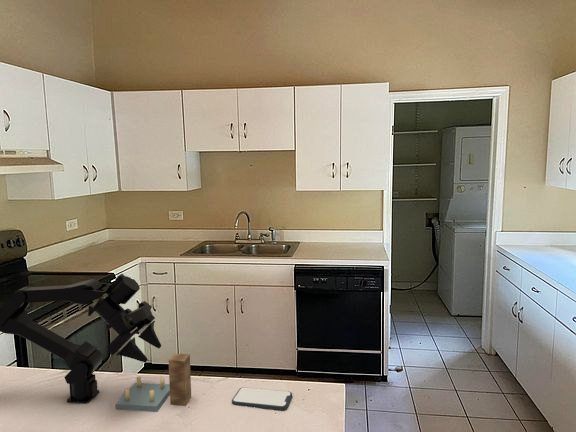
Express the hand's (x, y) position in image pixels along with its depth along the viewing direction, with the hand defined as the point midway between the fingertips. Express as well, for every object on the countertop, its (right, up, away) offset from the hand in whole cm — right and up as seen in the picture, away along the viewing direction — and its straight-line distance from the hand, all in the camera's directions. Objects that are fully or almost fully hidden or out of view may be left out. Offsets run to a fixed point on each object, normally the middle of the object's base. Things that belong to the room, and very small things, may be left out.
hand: (153, 354), depth 124 cm
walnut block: (+8, -14, +1) cm, 16 cm away
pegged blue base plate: (-3, -13, +2) cm, 14 cm away
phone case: (+31, -14, +1) cm, 34 cm away
